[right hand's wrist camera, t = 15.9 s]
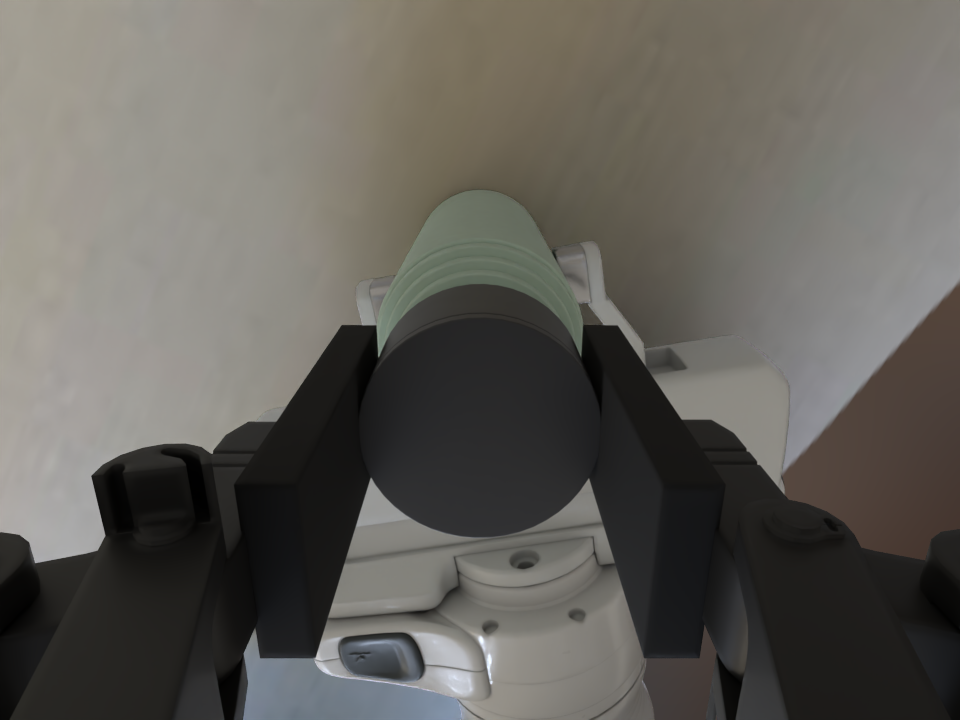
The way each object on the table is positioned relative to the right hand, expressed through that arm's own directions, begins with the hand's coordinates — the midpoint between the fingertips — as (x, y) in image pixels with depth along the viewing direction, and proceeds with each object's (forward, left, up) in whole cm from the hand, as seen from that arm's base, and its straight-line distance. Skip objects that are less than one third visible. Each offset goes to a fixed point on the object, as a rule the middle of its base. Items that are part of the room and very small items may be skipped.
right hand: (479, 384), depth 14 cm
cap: (0, 0, +2) cm, 2 cm away
